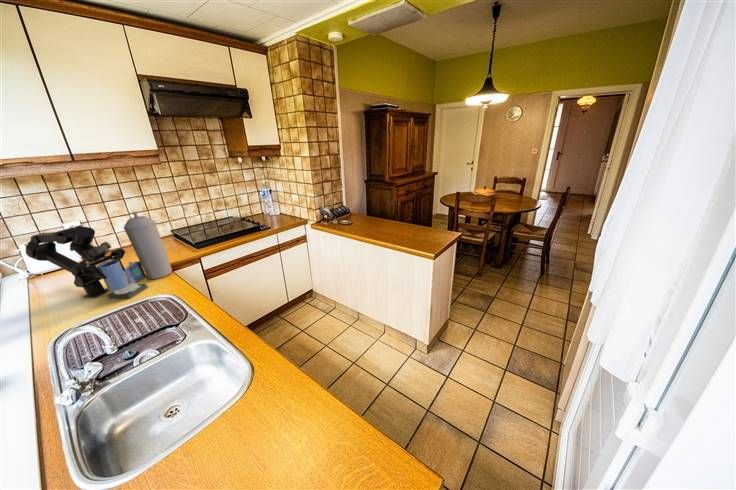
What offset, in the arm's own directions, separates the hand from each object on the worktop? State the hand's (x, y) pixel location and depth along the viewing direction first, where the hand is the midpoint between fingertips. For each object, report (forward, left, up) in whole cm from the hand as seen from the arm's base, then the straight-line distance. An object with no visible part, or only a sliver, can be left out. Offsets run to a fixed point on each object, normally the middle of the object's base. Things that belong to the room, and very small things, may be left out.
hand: (115, 274), depth 119 cm
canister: (-1, +21, -13) cm, 25 cm away
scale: (-3, +4, -12) cm, 13 cm away
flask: (-10, +16, -13) cm, 22 cm away
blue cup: (-1, 0, -7) cm, 7 cm away
